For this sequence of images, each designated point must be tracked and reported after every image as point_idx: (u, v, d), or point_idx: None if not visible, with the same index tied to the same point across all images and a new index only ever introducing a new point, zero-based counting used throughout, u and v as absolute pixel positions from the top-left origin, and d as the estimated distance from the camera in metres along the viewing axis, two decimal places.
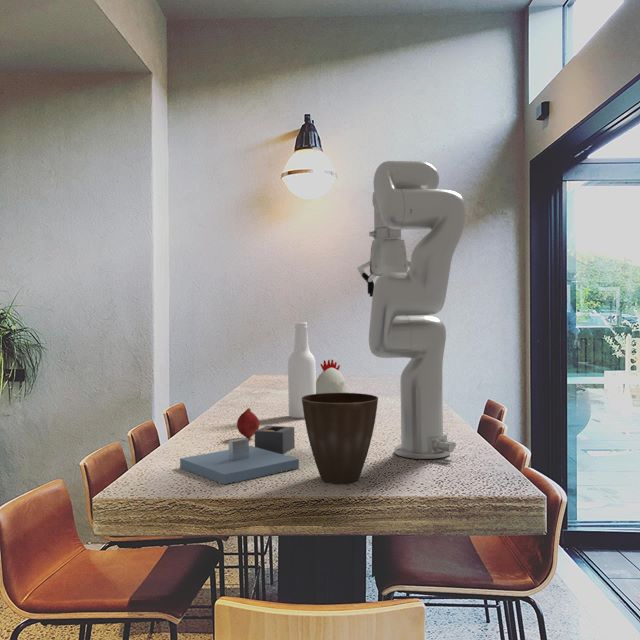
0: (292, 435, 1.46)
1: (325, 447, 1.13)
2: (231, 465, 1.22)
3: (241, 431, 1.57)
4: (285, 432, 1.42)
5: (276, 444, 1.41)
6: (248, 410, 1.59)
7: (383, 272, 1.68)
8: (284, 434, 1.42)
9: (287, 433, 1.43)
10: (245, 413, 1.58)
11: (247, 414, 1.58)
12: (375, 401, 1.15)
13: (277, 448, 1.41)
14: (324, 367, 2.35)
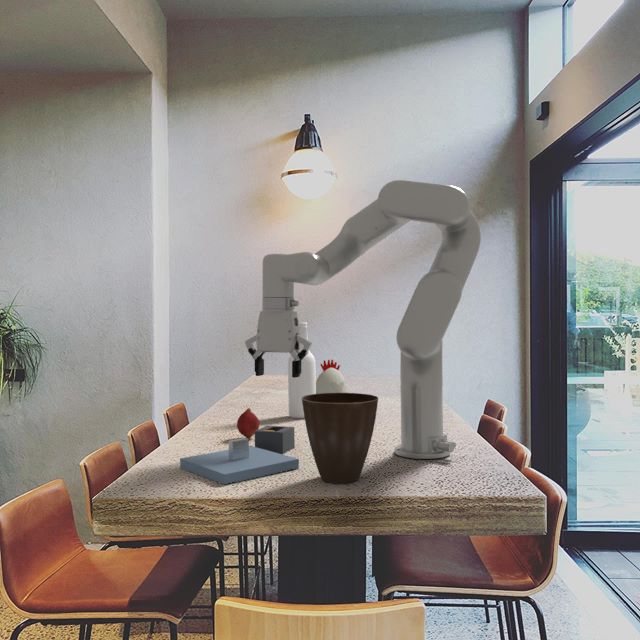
0: (292, 435, 1.46)
1: (325, 447, 1.13)
2: (231, 465, 1.22)
3: (241, 431, 1.57)
4: (285, 432, 1.42)
5: (276, 444, 1.41)
6: (248, 410, 1.59)
7: None
8: (284, 434, 1.42)
9: (287, 433, 1.43)
10: (245, 413, 1.58)
11: (247, 414, 1.58)
12: (375, 401, 1.15)
13: (277, 448, 1.41)
14: (324, 367, 2.35)
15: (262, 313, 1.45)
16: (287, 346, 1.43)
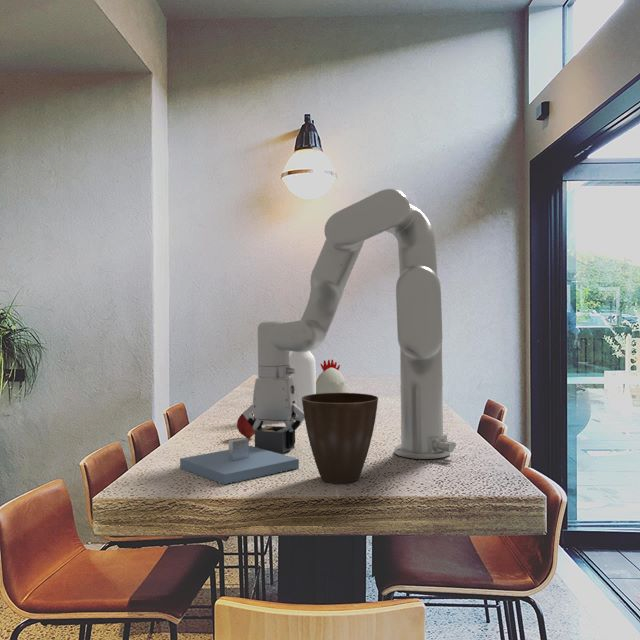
0: None
1: (325, 447, 1.13)
2: (231, 465, 1.22)
3: (241, 431, 1.57)
4: (285, 432, 1.42)
5: (276, 444, 1.41)
6: None
7: None
8: (284, 434, 1.42)
9: None
10: None
11: None
12: (375, 401, 1.15)
13: (277, 448, 1.41)
14: (324, 367, 2.35)
15: (258, 381, 1.44)
16: (284, 415, 1.42)
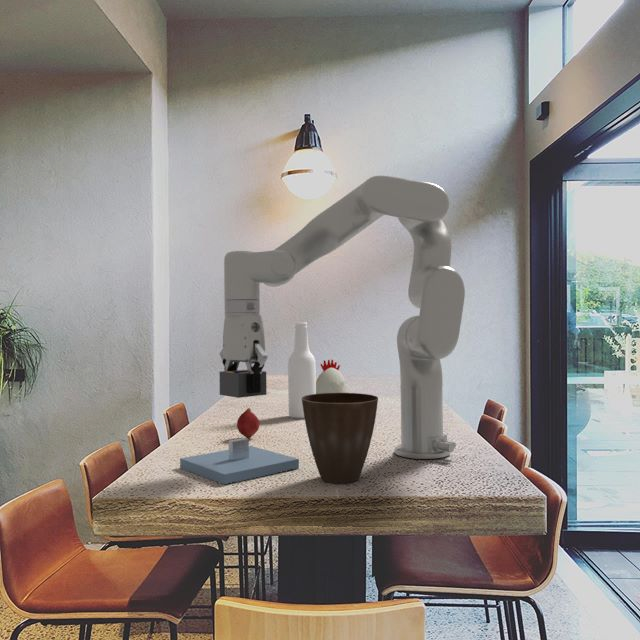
0: (261, 380, 1.29)
1: (325, 447, 1.13)
2: (231, 465, 1.22)
3: (241, 431, 1.57)
4: (245, 374, 1.27)
5: (234, 386, 1.27)
6: (248, 410, 1.59)
7: None
8: (242, 375, 1.26)
9: None
10: (245, 413, 1.58)
11: (247, 414, 1.58)
12: (375, 401, 1.15)
13: (234, 391, 1.26)
14: (324, 367, 2.35)
15: (225, 318, 1.31)
16: (243, 355, 1.26)
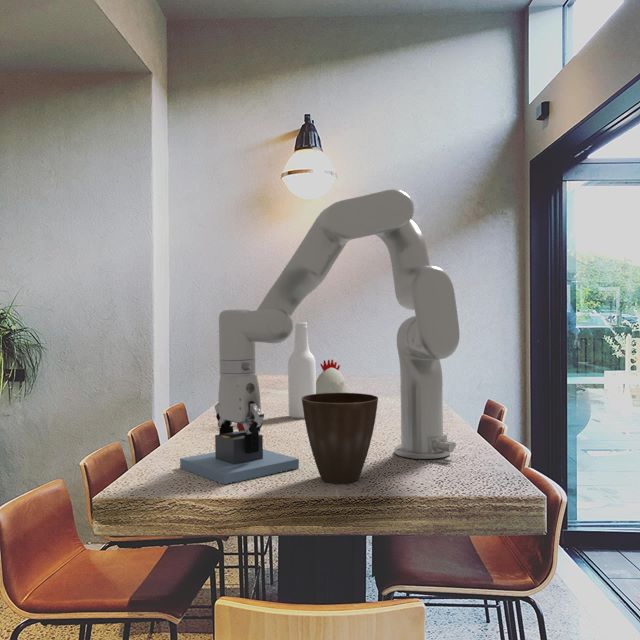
0: None
1: (325, 447, 1.13)
2: (231, 465, 1.22)
3: None
4: (240, 440, 1.24)
5: (229, 452, 1.24)
6: None
7: None
8: (237, 441, 1.24)
9: None
10: None
11: None
12: (375, 401, 1.15)
13: (230, 457, 1.24)
14: (324, 367, 2.35)
15: (221, 377, 1.29)
16: (238, 416, 1.24)
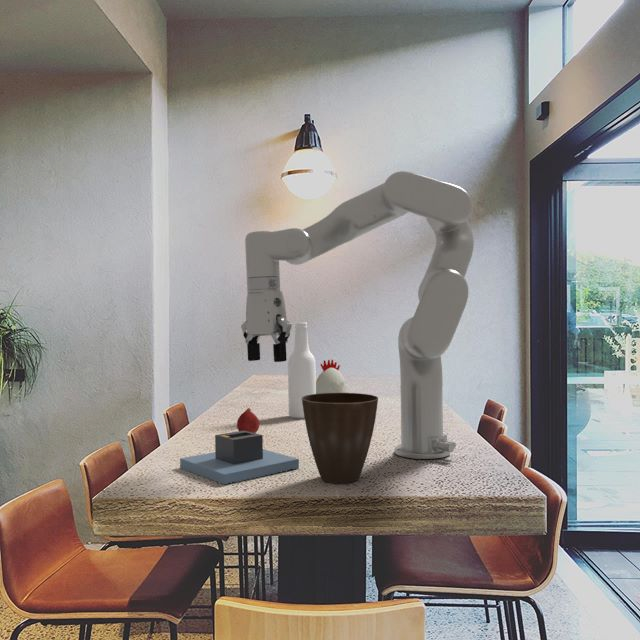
0: (257, 444, 1.27)
1: (325, 447, 1.13)
2: (231, 465, 1.22)
3: None
4: (240, 440, 1.24)
5: (229, 452, 1.24)
6: (248, 410, 1.59)
7: None
8: (237, 441, 1.24)
9: (245, 441, 1.25)
10: (245, 413, 1.58)
11: (246, 414, 1.58)
12: (375, 401, 1.15)
13: (230, 457, 1.24)
14: (324, 367, 2.35)
15: (248, 295, 1.39)
16: (267, 328, 1.34)
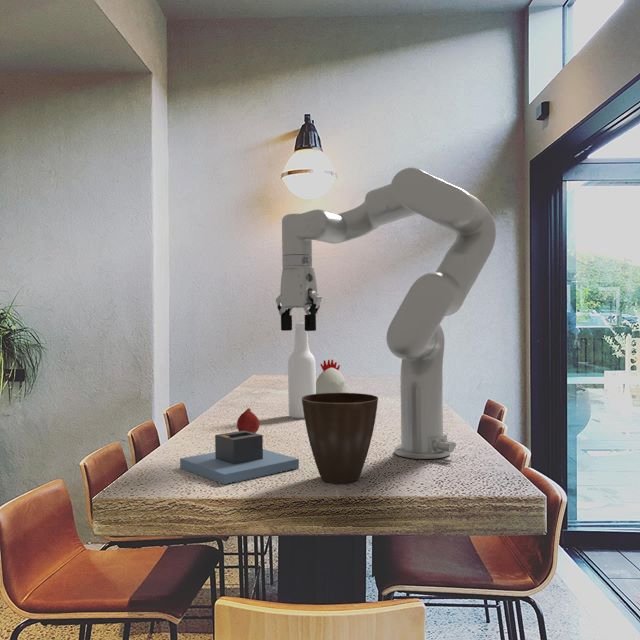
0: (257, 444, 1.27)
1: (325, 447, 1.13)
2: (231, 465, 1.22)
3: None
4: (240, 440, 1.24)
5: (229, 452, 1.24)
6: (248, 410, 1.59)
7: None
8: (237, 441, 1.24)
9: (245, 441, 1.25)
10: (245, 413, 1.58)
11: (247, 414, 1.58)
12: (375, 401, 1.15)
13: (230, 457, 1.24)
14: (324, 367, 2.35)
15: (283, 271, 1.55)
16: (299, 301, 1.50)
